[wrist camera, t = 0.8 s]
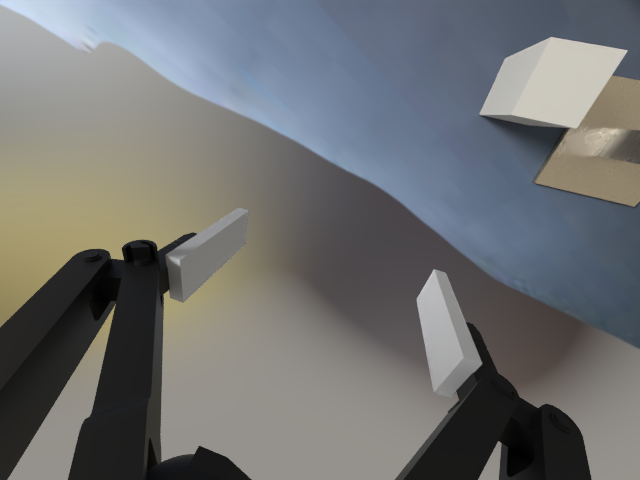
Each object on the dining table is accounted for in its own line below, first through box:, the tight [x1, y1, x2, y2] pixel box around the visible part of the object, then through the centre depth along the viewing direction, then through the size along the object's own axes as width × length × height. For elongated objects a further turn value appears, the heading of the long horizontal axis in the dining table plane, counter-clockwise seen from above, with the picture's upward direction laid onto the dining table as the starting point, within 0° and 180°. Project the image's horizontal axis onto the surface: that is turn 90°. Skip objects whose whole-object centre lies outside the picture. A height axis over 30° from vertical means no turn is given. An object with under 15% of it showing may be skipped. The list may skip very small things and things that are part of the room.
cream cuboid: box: [479, 37, 628, 129], centre depth 25 cm, size 6×6×9 cm
